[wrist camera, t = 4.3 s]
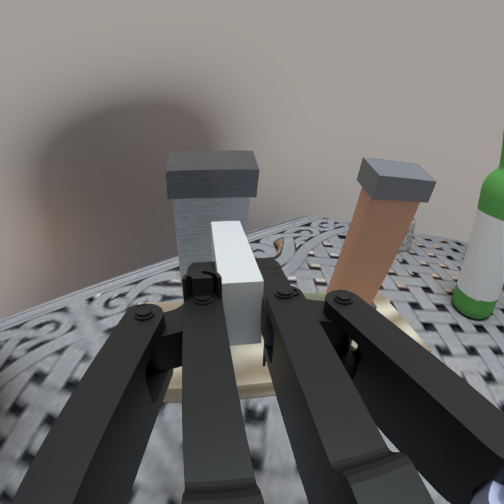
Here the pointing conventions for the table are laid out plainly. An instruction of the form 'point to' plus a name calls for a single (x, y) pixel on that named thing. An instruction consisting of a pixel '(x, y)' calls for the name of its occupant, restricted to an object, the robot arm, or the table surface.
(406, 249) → the mug
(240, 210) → the grey lever
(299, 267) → the table surface
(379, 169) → the terracotta lever
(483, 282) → the wine bottle
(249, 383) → the switch panel
